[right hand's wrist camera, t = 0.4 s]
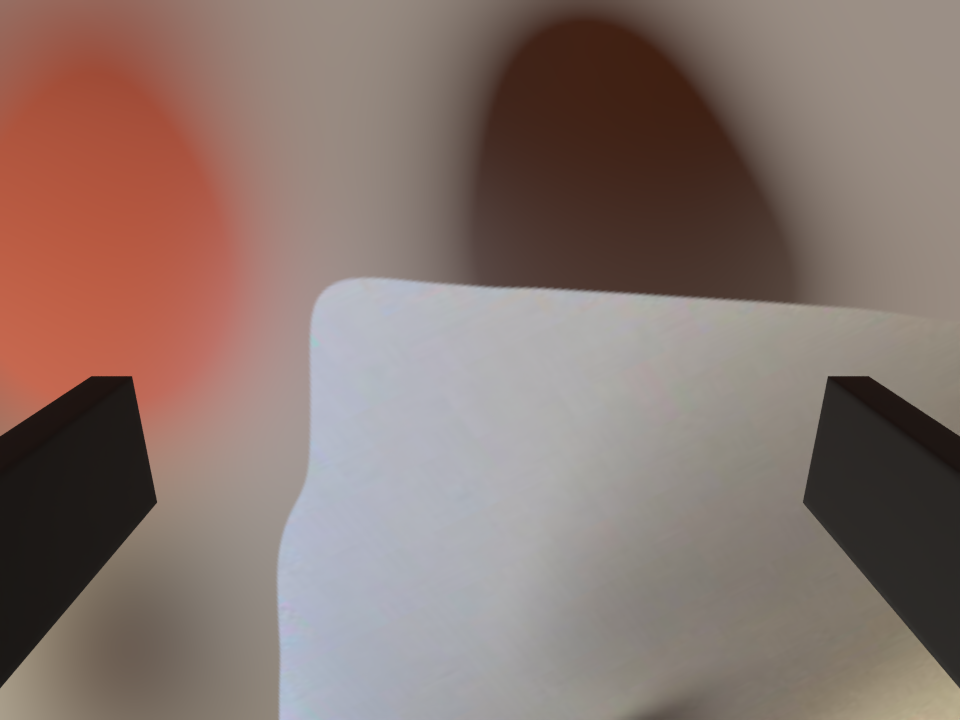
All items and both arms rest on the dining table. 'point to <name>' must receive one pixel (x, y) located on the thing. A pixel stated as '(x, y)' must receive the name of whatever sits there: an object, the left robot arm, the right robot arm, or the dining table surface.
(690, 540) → the dining table surface
